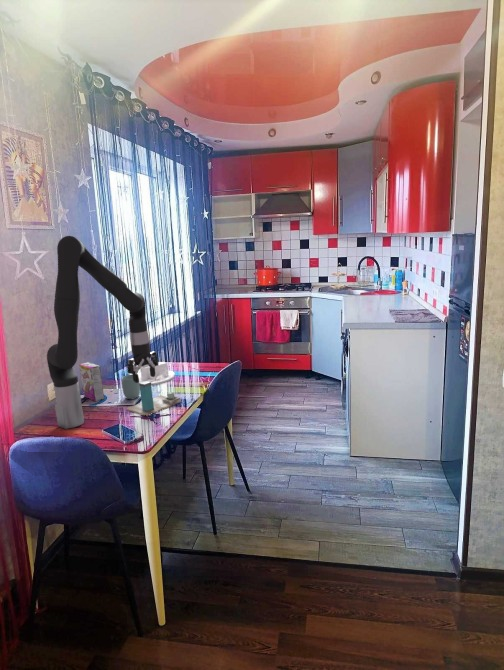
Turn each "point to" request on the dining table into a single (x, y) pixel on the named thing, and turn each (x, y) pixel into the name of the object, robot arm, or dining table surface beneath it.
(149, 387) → the teal rectangular block
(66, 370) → the robot arm
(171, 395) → the button
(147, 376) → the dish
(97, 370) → the candy bar box
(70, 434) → the dining table surface
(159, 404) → the clipboard
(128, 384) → the cup
